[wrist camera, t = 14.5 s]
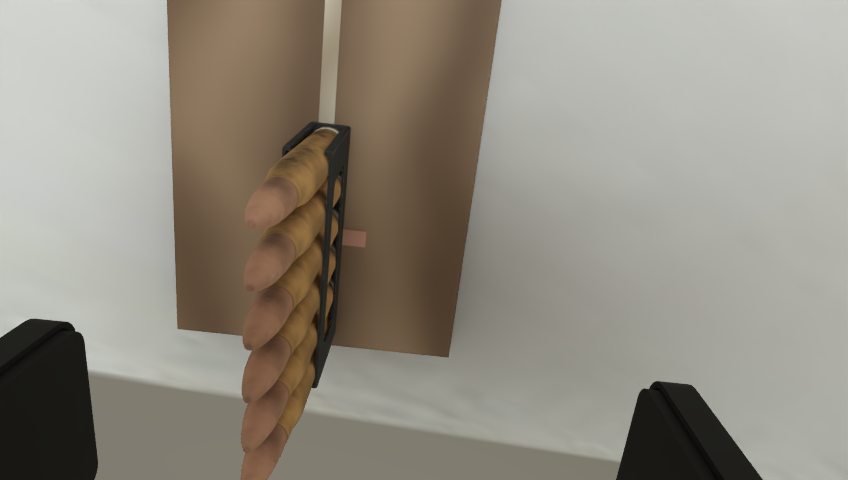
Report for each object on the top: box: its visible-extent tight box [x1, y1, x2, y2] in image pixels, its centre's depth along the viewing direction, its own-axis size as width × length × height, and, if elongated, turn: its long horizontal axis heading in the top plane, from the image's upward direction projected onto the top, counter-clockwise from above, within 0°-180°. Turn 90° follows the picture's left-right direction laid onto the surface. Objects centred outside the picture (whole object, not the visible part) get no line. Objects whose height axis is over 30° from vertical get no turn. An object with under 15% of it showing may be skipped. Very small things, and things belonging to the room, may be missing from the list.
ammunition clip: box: [241, 121, 351, 480], centre depth 21 cm, size 11×2×12 cm, turn 173°
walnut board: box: [167, 0, 501, 357], centre depth 25 cm, size 14×28×2 cm, turn 173°
